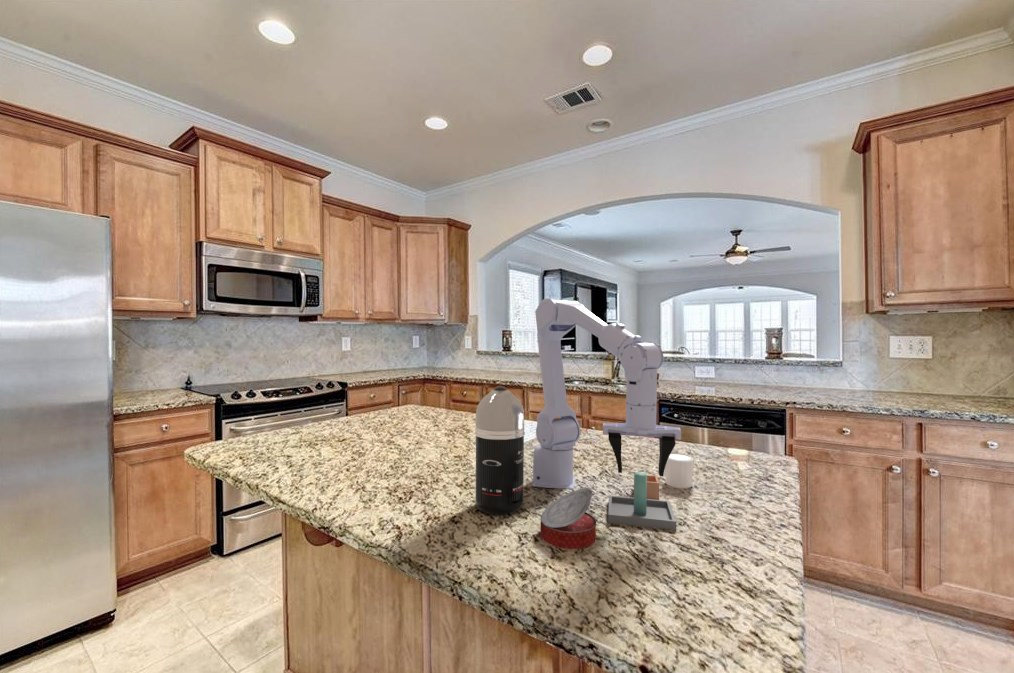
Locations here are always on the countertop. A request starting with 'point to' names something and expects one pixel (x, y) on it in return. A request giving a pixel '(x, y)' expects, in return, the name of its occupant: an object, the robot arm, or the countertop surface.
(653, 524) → the tray
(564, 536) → the canned food
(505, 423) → the black bottle
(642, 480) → the pin
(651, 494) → the open box
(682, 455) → the white short cylinder
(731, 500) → the countertop surface
